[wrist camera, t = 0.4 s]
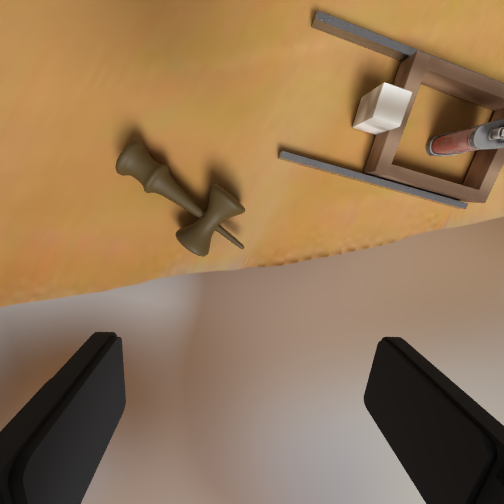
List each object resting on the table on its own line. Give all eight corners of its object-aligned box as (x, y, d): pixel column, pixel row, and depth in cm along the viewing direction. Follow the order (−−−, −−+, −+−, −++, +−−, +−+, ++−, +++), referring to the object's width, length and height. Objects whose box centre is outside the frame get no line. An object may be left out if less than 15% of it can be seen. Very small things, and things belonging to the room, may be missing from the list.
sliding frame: (375, 53, 32) (401, 29, 27) (510, 104, 35) (554, 91, 31) (340, 166, 35) (357, 162, 31) (465, 201, 39) (499, 203, 34)
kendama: (155, 129, 32) (262, 220, 37) (117, 184, 34) (225, 265, 38) (137, 117, 27) (267, 226, 31) (93, 183, 28) (222, 279, 33)
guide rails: (313, 18, 30) (317, 10, 29) (508, 94, 35) (520, 90, 34) (278, 158, 34) (280, 157, 33) (456, 208, 39) (465, 209, 38)
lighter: (475, 129, 36) (563, 108, 27) (472, 152, 37) (557, 140, 28) (426, 135, 36) (499, 116, 26) (424, 159, 37) (494, 148, 27)
